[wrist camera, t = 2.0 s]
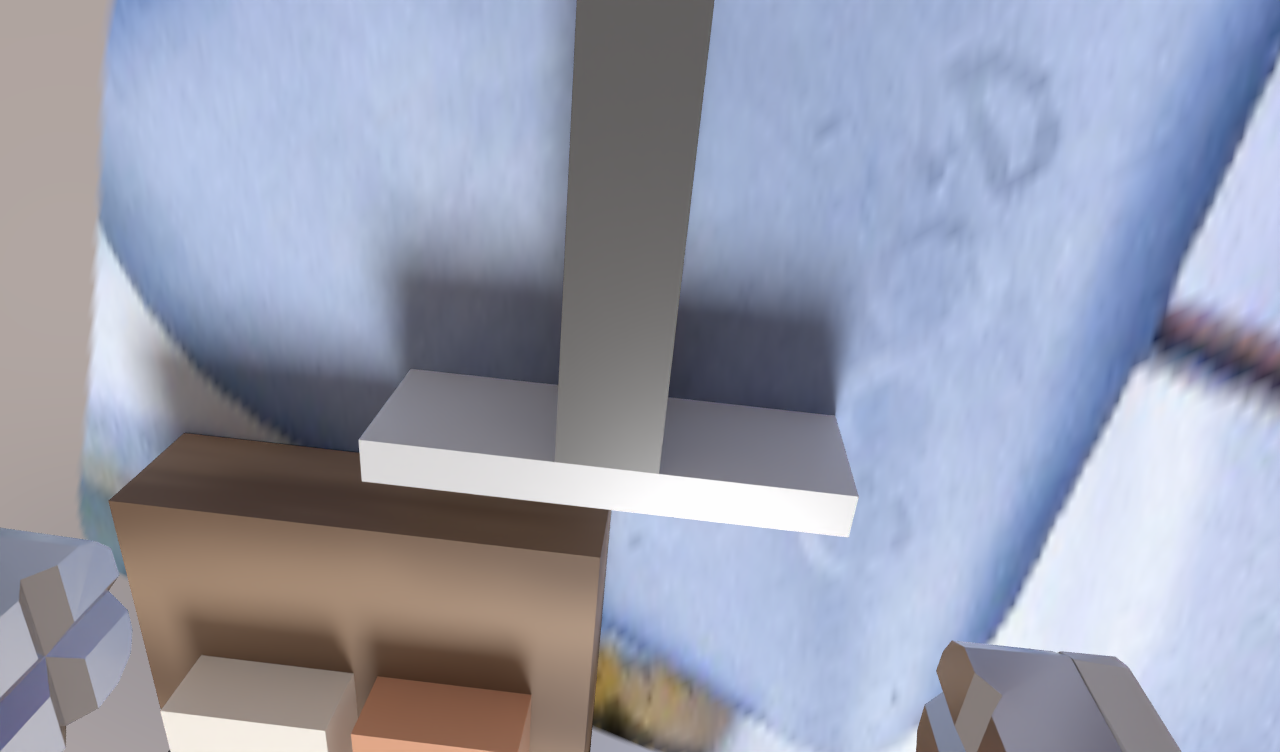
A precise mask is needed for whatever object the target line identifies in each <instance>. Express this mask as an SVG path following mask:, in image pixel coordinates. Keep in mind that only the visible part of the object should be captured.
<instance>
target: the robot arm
mask: <svg viewBox="0 0 1280 752" xmlns="http://www.w3.org/2000/svg"><path fill="white" fill-rule="evenodd" d="M118 576H119V572H118V569H117V566H116V563H115V559H114V556H113V553H112V549H111V548H110V547H108V546H106V545H103V544H101V543H99V542H96V541H92V540H84V539H77V538H70V537H63V536H55V535H49V534H42V533H34V532H27V531H21V530H14V529H6V528H0V752H63V750H64V749H65V748H66V726H67V725H69V724H70V723H72V722H74V721H76V720H78V719H79V718H81V717H83V716H85V715H87V714H89V713H91V712H92V711H94V710H96V709H98V708H99V707H100V705H101V704H102V703H103V702H104V700H105V699H106V698H107V697H108V696H109V694H110V693H111V692H112V690H113V689H114V688H115V686H116V685H117V684H118V683H119V680H120V678H121V675H122V673H123V670H124V668H125V666H126V663H127V661H128V658H129V656H130V654H131V642H132V626H131V622H130V617H129V613H128V610H127V609H126V608H125V607H124V606H123V605H122V604H121V603H120V602H119V601H118V600H117V599H116V598H115V597H114V596H113V595H112V594H111V593H110V592H109V589H110V588H111V586H112V585H113V583H114V582H115V581H116V579H117V578H118ZM936 671H937V674H938V677H939V680H940V684H941V687H942V690H943V692H942V693H941V694H939V695H938V696H936V697H935V698H934V699H932V700H931V701H929V702H928V703H926V704H925V706H924V709H923V713H922V716H921V719H920V723H919V726H918V730H917V746H916V752H1181V750H1180V748H1179V747H1178V745H1177V744H1176V742H1175V740H1174V739H1173V737H1172V736H1171V734H1170V732H1169V731H1168V729H1167V728H1166V726H1165V725H1164V723H1163V721H1162V720H1161V718H1160V717H1159V715H1158V713H1157V712H1156V710H1155V709H1154V707H1153V705H1152V704H1151V702H1150V701H1149V699H1148V697H1147V696H1146V694H1145V693H1144V691H1143V689H1142V688H1141V686H1140V685H1139V683H1138V681H1137V680H1136V678H1135V677H1134V675H1133V674H1132V672H1131V670H1130V669H1129V668H1128V666H1127V665H1125V664H1124V663H1123V662H1121V661H1120V660H1119V659H1117V658H1116V657H1112V656H1102V655H1092V654H1082V653H1072V652H1058V653H1056V652H1053V651H1044V650H1035V649H1026V648H1017V647H1008V646H998V645H989V644H980V643H971V642H962V641H951V642H950V644H949V645H948V646H947V647H946V648H945V650H944V651H943V653H942V656H941V659H940V662H939V664H938V667H937V670H936Z"/></svg>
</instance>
